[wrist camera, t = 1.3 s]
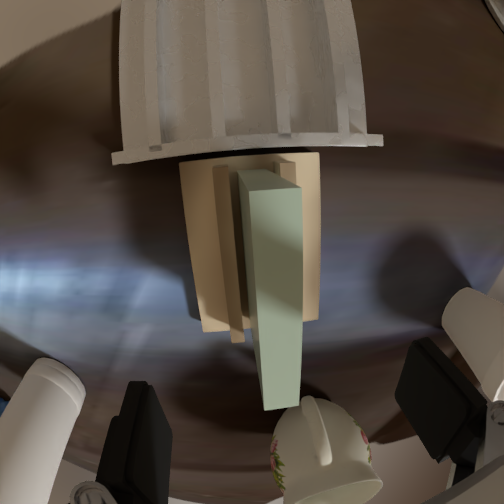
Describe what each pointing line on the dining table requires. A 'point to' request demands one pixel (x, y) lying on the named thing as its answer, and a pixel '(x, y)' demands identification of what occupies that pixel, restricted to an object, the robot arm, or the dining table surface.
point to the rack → (238, 77)
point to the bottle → (37, 431)
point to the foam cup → (478, 336)
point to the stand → (230, 233)
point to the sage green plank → (274, 280)
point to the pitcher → (322, 456)
